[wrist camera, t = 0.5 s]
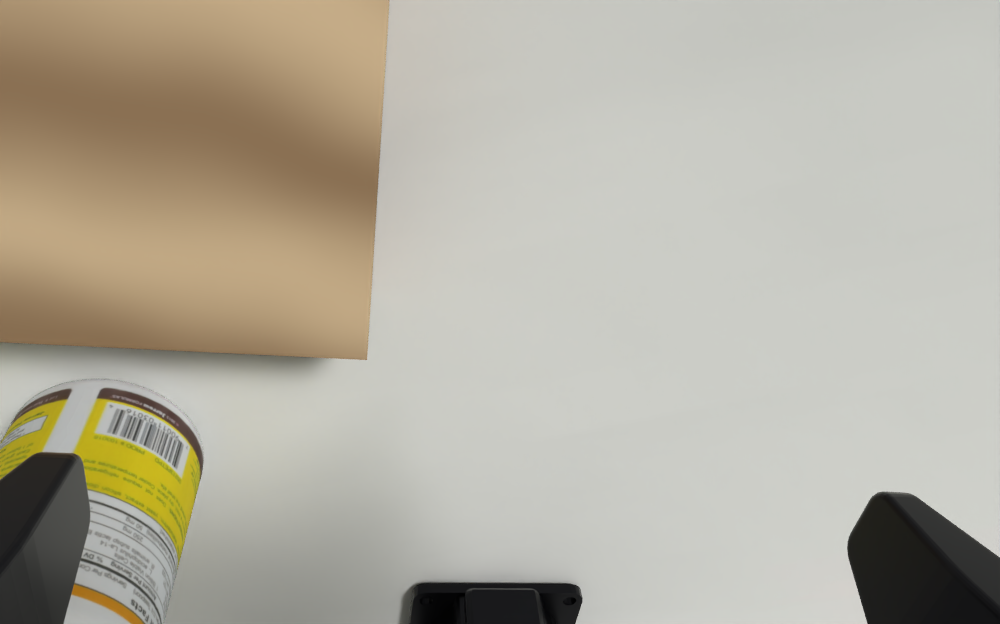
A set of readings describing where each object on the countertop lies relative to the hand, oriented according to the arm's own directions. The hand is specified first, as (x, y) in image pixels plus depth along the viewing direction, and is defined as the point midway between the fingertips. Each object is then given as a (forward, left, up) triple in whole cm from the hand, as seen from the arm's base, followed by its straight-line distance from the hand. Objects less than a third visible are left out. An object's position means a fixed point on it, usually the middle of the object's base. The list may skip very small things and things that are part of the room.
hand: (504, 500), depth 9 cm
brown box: (-1, +7, -13) cm, 15 cm away
